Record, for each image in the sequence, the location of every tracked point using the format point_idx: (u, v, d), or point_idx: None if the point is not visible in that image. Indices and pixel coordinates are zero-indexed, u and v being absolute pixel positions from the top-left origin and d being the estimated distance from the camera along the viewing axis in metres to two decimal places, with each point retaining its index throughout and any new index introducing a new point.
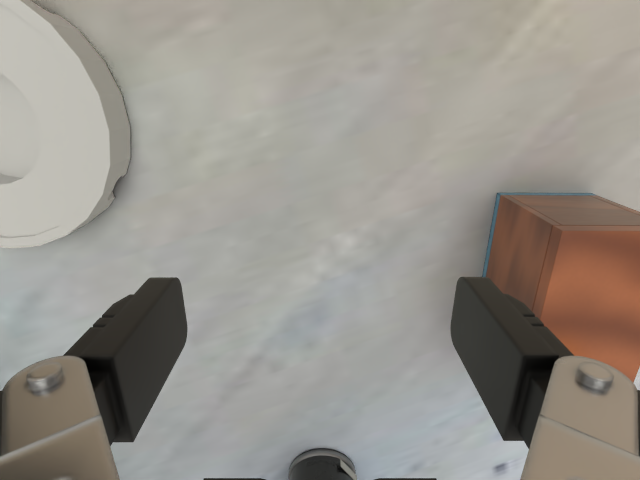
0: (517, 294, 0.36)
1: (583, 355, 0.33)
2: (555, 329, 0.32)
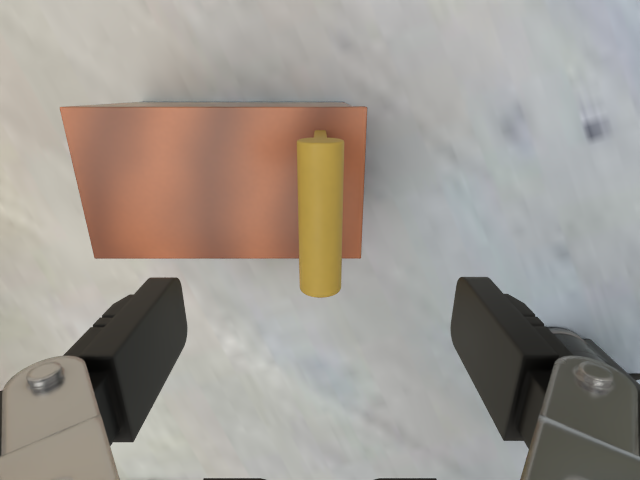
0: None
1: (258, 193, 0.25)
2: (221, 237, 0.26)
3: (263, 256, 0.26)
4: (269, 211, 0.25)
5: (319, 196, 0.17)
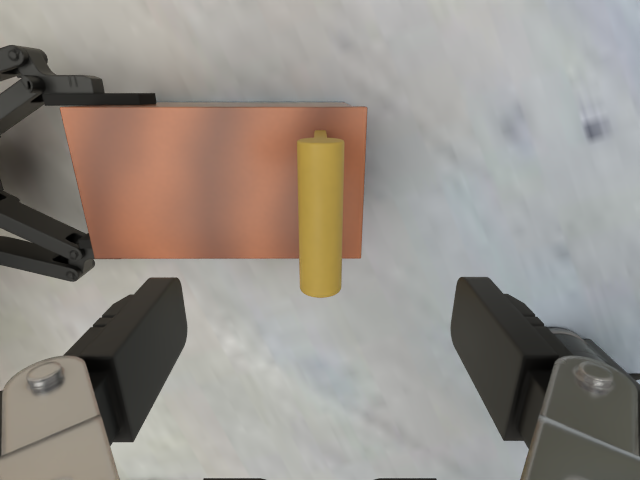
0: None
1: (258, 193, 0.25)
2: (222, 238, 0.26)
3: (263, 256, 0.26)
4: (269, 211, 0.25)
5: (319, 196, 0.17)
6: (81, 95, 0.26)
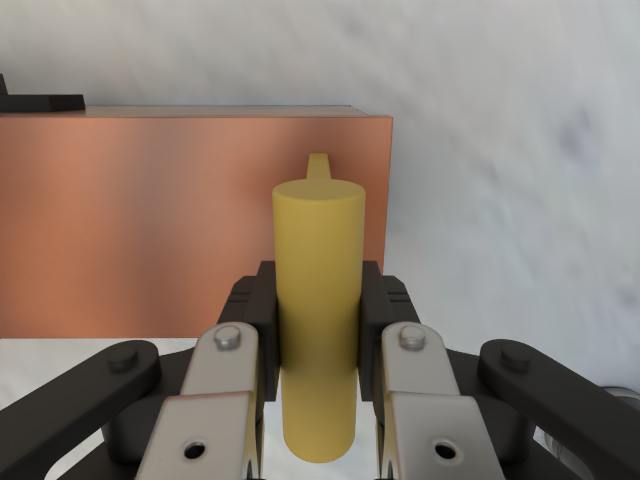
0: None
1: (225, 247, 0.16)
2: (172, 310, 0.17)
3: None
4: (242, 273, 0.17)
5: (317, 300, 0.09)
6: None
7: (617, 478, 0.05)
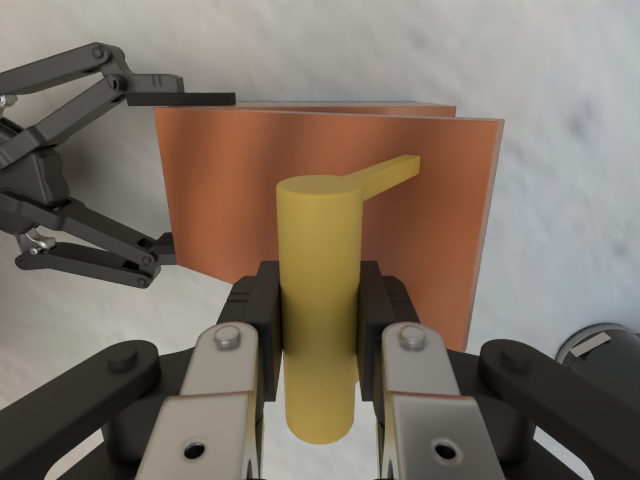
0: None
1: None
2: None
3: None
4: None
5: (294, 284, 0.09)
6: (167, 95, 0.25)
7: (617, 478, 0.05)
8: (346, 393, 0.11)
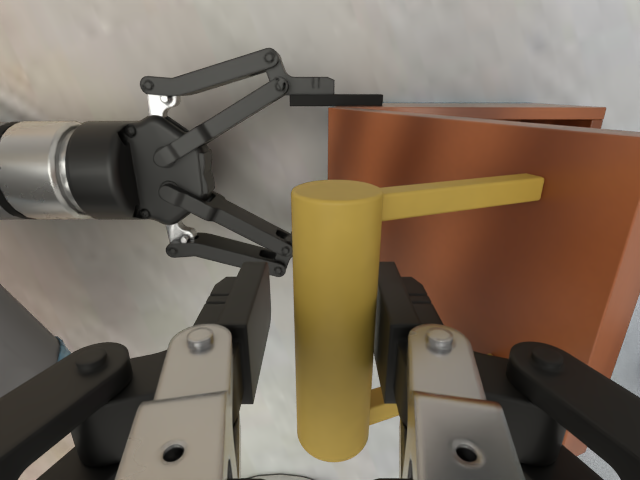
0: None
1: (435, 251, 0.16)
2: None
3: None
4: (441, 283, 0.16)
5: (295, 285, 0.09)
6: (327, 96, 0.27)
7: None
8: (342, 417, 0.10)
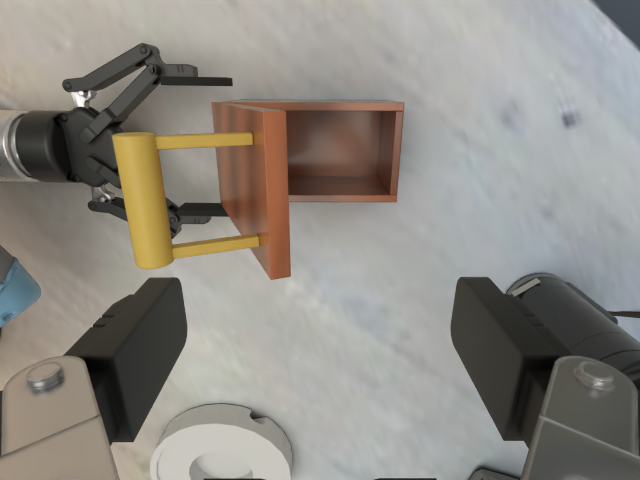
0: None
1: (242, 184, 0.28)
2: (237, 214, 0.31)
3: None
4: (245, 202, 0.28)
5: (120, 178, 0.21)
6: (186, 78, 0.38)
7: None
8: (148, 243, 0.22)
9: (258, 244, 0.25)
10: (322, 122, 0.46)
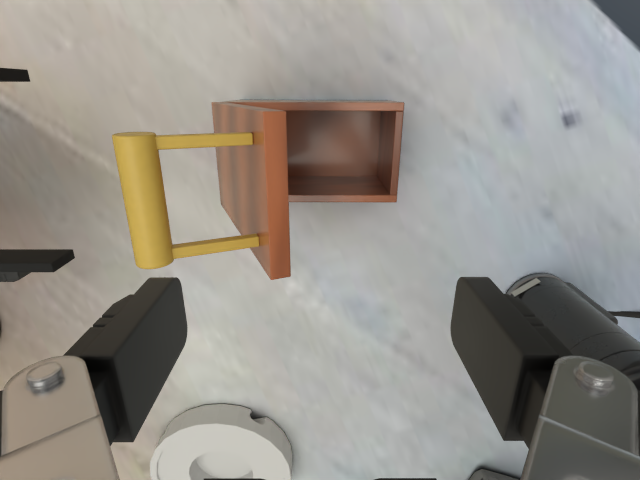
0: None
1: (242, 184, 0.28)
2: (237, 214, 0.31)
3: None
4: (245, 202, 0.28)
5: (120, 178, 0.21)
6: None
7: None
8: (147, 243, 0.22)
9: (258, 244, 0.25)
10: (322, 122, 0.46)
